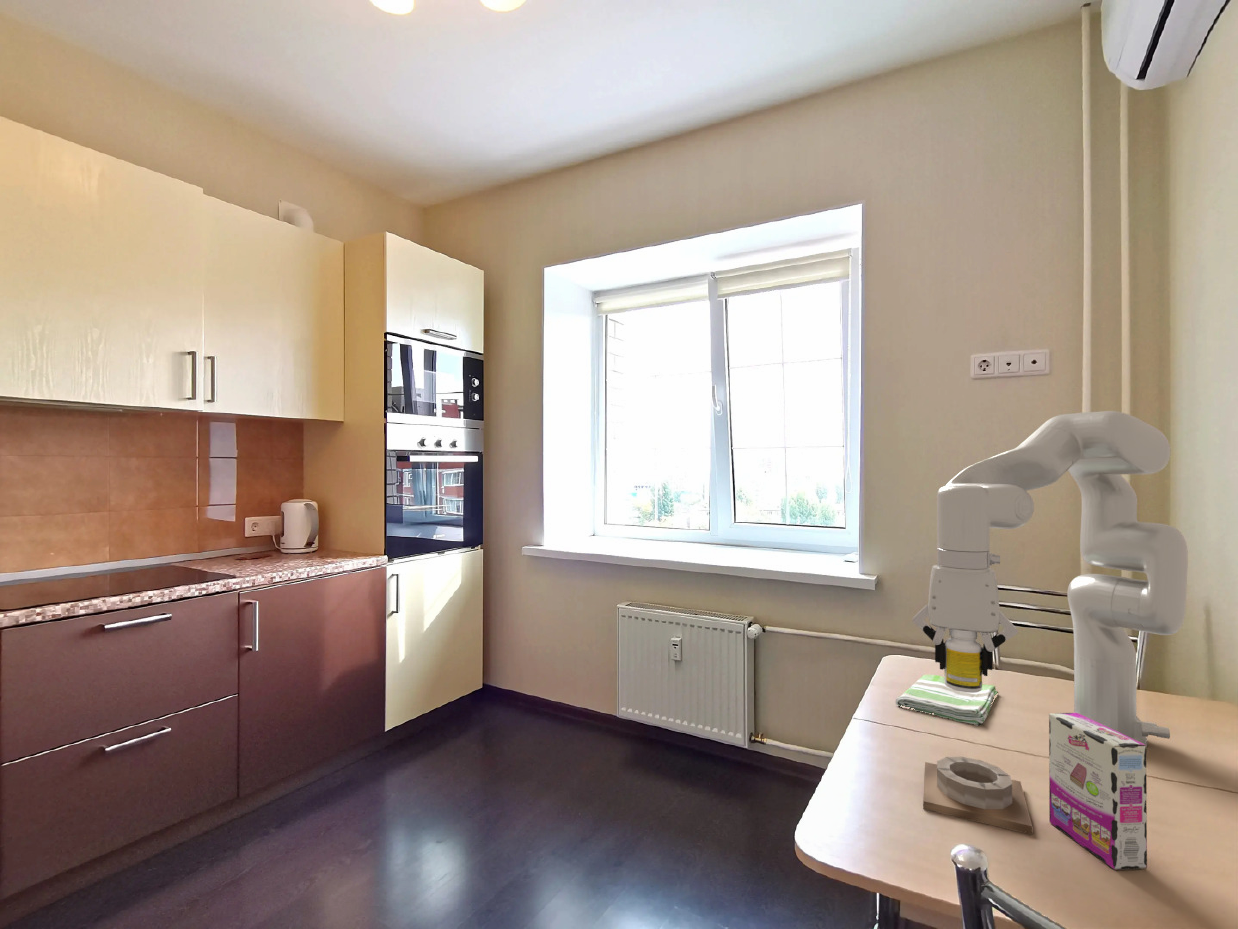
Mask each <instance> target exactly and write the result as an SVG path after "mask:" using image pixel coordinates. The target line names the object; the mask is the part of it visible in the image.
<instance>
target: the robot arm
mask: <svg viewBox="0 0 1238 929" xmlns="http://www.w3.org/2000/svg"><path fill="white" fill-rule="evenodd" d="M1171 450H1172V449H1171V445H1170V442H1169V440H1168V438H1167V437H1166V435H1165V434H1164V433H1163V432H1162V431H1161V430H1159V429H1158V428H1157V427H1155V426H1153V425H1151V424H1149V423H1147V422H1145V421H1143V420H1141V419H1140V418H1138V417H1136V416H1134V415H1131V414H1128V413H1125V412H1122V411H1115V410H1104V411H1089V412H1075V413H1063V414H1058V415H1055V416H1053V417H1050V418H1049V419H1047V420H1046V421H1045V422H1044V423H1042V424H1041V425H1040V426H1039V427H1038V428H1036V430H1034V431H1033V432H1032V434H1030V435H1029V436H1028V437H1027V438H1026V439H1025V440H1024V441H1022V442H1020V444H1019V445H1017V447H1015V448H1013V449H1010V450H1007V451H1004V452H1001V453H999V454H998V453H997V455H996V454H995V455H994V456H991V457H989V458H985V459H983V460H980V461H979V462H976V463H974V464H972V465H969V466H967V467H965V468H963V470H961V471H960V472H959V473H957V474H956V475H954V477H953V478H951V479H950V480H949V481H948V482H947V483H946V485H944V486H941V487H940V488H939V489H938V490H937V494H936V564H934V565H932V566H931V572H930V576H929V577H930V578H929V584H928V585H929V588H928V601H927V602H928V603H927V604H926V605H924V606H923V607H922V608H921V609H920V610H919V611H918V612H917V613H916V614H915V615H914V616H913V617H912V622H913V623H914V624H915V625H916V626H917V627H918V628H919V629H920V630H921V631H923V633H924V634H925V635H926V636H927V637H928V638H929V639H930V640H931V641H932V642H933V644H934V662H935V663H939V670H943V671H944V669H945V641H944V636H945V634H946V631H947V630H949V629H954V630H964V631H971V632H977V633H979V634H980V636H981V639H982V642H983V645H982V646H981V647H982V676H984V677H988V675H989V674H988V671H993V652H994V651H995V649H997V648H999V647H1000V646H1001V645H1003V643H1005V642H1006V641H1008V640H1009V639H1012V638H1013V637H1014V636H1016V635H1017V634H1019V633H1018V632H1019V631H1018V629H1017V627H1016V626H1015V625H1014V624H1013V623H1012V622H1011V621H1010V620H1009V619H1008V618H1007V616H1006V615H1005V614H1004V613H1003V612H1002V611H1001V610H1000V598H999V589H998V579H997V576H996V575H997V574H996V572H995V571H996V570H994V569H992V568H991V566H993V565H995V564H999V565H1000V564H1001V555H999V554H998V555H997V554H993V553H992V552H990V529H1000V530H1002V529H1003V530H1013V529H1018V528H1021V527H1022V526H1024V525H1026V524H1027V523H1028V522H1029V521H1030V520H1031V518H1032V517H1033V514H1034V511H1035V503H1034V500H1033V498H1032V496H1031V494H1030V493H1029V492H1028V491H1032V490H1033V491H1034V490H1037V489H1040V488H1045V487H1048V486H1051V485H1053V484H1055V483H1056V482H1058V481H1059V480H1060V478H1062V476H1063V475H1065V473H1066V472H1069V474H1070V475H1071V477H1072V478H1073V480H1074V481H1075V483H1076V484H1077V487H1078V489H1079V491H1080V495H1081V517H1080V518H1081V521H1080V536H1079V539H1080V541H1079V548H1080V554H1081V557H1082V558H1083V561H1085V562H1086V563H1088V564H1090V565H1092V566H1096V567H1100V568H1105V569H1113V570H1120V571H1126V572H1127V571H1128V572H1138V573H1144V574H1145V575H1146V578H1147V580H1144V579H1139V578H1138V579H1136V578H1129V577H1125V576H1117V575H1111V574H1110V575H1109V574H1102V573H1085V574H1081V575H1077V576H1076V577H1074V578H1073V579H1072V580H1071V581H1070V583H1069V584H1068V587H1067V593H1066V594H1067V603H1068V606H1069V611H1070V615H1071V620H1072V630H1073V631H1072V632H1073V675H1074V678H1073V680H1074V682H1073V683H1074V684H1073V685H1074V686H1073V687H1074V688H1073V690H1074V691H1073V692H1074V693H1073V695H1074V699H1073V700H1074V709H1073V710H1074V712H1073V713H1079V714H1081V715H1083V716H1085V717H1087V718H1089V719H1092V720H1094V721H1096V722H1098V723H1100V724H1102V725H1104V726H1107V727H1109V728H1111V729H1113V730H1115V731H1117V732H1119V733H1122V734H1124V735H1126V736H1128V737H1130V738H1132V739H1134V740H1136V741H1138V742H1141V743H1143V744H1145V745H1147V746H1148V737H1149V736H1154V737H1157V738H1163V739H1170V738H1171V732H1170V729H1169V727H1165V726H1157V723H1156V722H1149V721H1142V720H1141V719H1140V718H1139V717H1138V716H1137V652H1136V648H1135V646H1134V643H1133V641H1132V639H1131V638H1130V636H1129V635H1128V634H1127V632H1126V631H1125V629H1129V630H1134V631H1138V632H1144V633H1149V634H1154V635H1160V636H1169V635H1170V636H1171V635H1174V634H1177V633H1178V632H1179V631H1180V630H1181V629H1182V627H1183V624H1184V622H1185V618H1186V610H1187V608H1186V607H1187V591H1188V590H1187V587H1188V570H1189V569H1188V567H1189V566H1188V565H1189V563H1188V562H1189V552H1188V545H1187V541H1186V540H1185V537H1184V535H1183V533H1182V532H1181V531H1180V530H1179V529H1178V528H1176V527H1174V526H1173V525H1169V524H1165V523H1159V522H1158V523H1157V522H1148V521H1147V522H1144V521H1138V518H1137V516H1138V515H1137V514H1138V497H1137V494H1136V491H1135V490H1134V488H1133V487H1132V486H1131V484H1130V483H1129V482H1128V481H1127V480H1126V479H1125V478H1124V477H1123V476H1122V475H1153V474H1156V473H1160V471H1163V469H1165V467H1167V465H1168V463H1169V462H1170V458H1171V452H1172V451H1171ZM926 618H928V621H929V623H927V622H926V621H925V619H926ZM931 625H932V626H934V627H936V628H935V629H934V628H933V627H932V626H931ZM1000 625H1001V626H1002V627H1003V628H1004V629H1003V630H1002V631H1000V632H998V631H999V629H1000ZM996 632H998V633H996ZM993 633H996V634H995V635H993V636H992V635H991V634H993Z"/></svg>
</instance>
